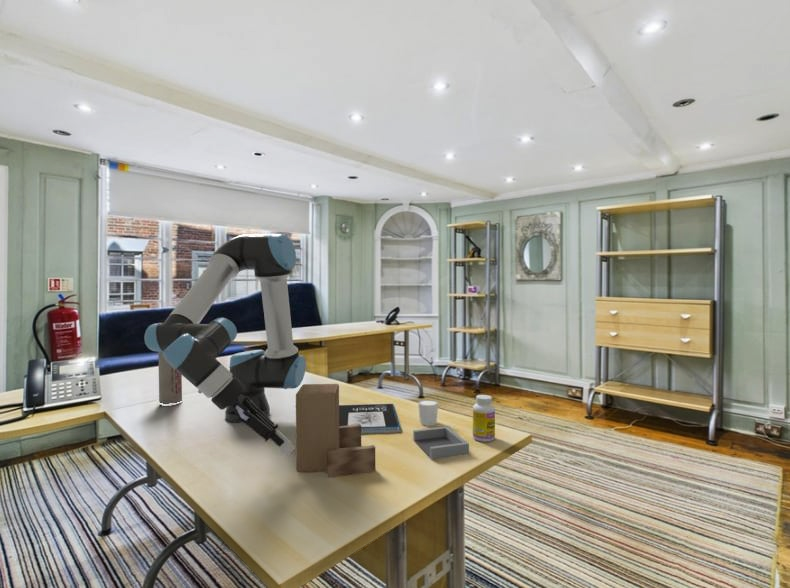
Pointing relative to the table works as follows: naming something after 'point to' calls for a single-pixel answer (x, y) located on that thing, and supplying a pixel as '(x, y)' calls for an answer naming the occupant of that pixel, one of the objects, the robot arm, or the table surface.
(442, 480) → the table surface
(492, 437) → the supplement bottle
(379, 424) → the sketchbook
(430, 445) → the grey shallow rectangular tray
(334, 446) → the wooden block
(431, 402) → the white cup
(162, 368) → the thermos bottle
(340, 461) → the parallel wooden walls
